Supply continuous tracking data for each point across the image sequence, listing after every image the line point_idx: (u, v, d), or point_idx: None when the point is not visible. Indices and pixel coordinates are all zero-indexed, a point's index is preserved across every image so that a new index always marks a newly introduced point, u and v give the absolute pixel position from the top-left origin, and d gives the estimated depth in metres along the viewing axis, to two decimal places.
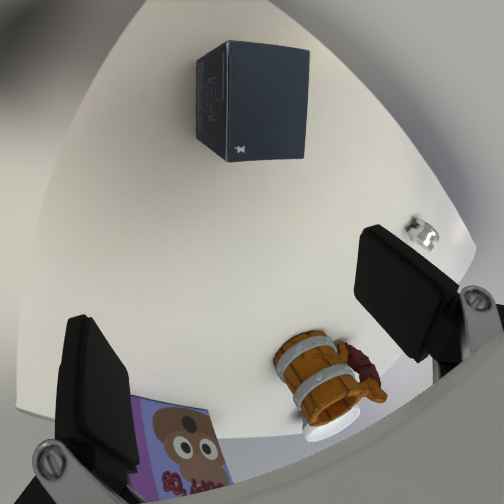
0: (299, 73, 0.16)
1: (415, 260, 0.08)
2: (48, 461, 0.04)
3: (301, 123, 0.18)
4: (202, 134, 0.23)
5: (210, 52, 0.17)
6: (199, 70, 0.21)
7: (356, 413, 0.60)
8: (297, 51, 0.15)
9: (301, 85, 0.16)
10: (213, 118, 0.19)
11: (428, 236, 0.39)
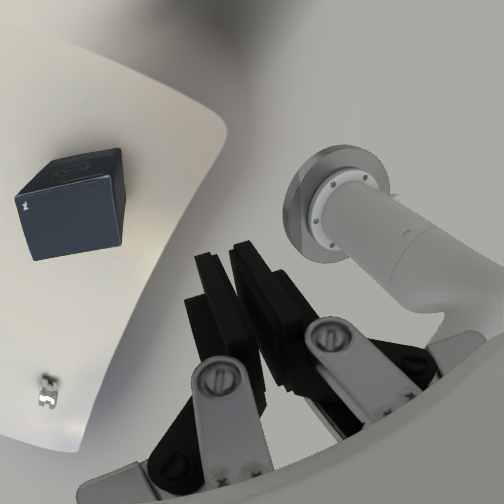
0: (97, 241, 0.19)
1: (263, 283, 0.08)
2: (211, 381, 0.06)
3: (58, 252, 0.19)
4: (49, 167, 0.21)
5: (114, 160, 0.21)
6: (106, 152, 0.24)
7: None
8: (115, 235, 0.20)
9: (87, 245, 0.19)
10: (53, 175, 0.19)
11: (48, 398, 0.34)
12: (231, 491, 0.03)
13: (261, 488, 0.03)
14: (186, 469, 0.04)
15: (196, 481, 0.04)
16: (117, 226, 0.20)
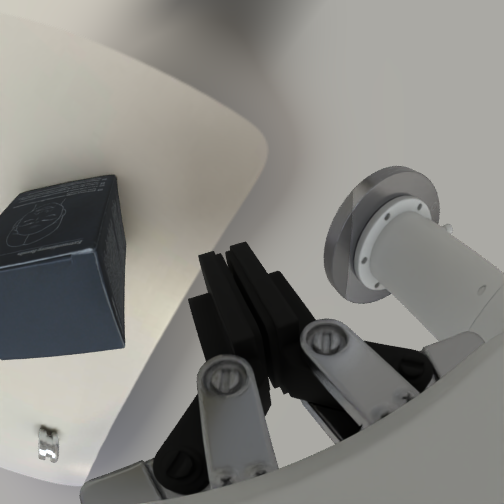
0: (86, 343, 0.12)
1: (259, 285, 0.08)
2: (217, 380, 0.06)
3: (31, 354, 0.11)
4: (12, 207, 0.13)
5: (103, 204, 0.13)
6: (94, 183, 0.16)
7: None
8: (115, 336, 0.12)
9: (73, 347, 0.11)
10: (11, 232, 0.11)
11: (48, 452, 0.26)
12: (231, 491, 0.03)
13: (261, 488, 0.03)
14: (192, 468, 0.04)
15: (202, 480, 0.04)
16: (116, 323, 0.12)
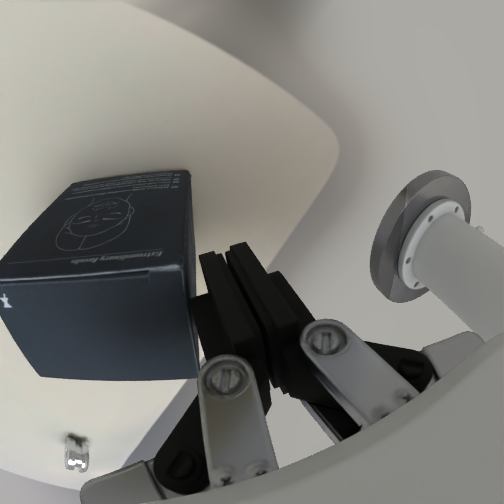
0: (153, 371, 0.10)
1: (259, 285, 0.08)
2: (217, 379, 0.06)
3: (79, 375, 0.10)
4: (64, 199, 0.13)
5: (182, 205, 0.12)
6: (166, 178, 0.15)
7: None
8: (190, 366, 0.10)
9: (134, 374, 0.10)
10: (62, 230, 0.10)
11: (77, 462, 0.26)
12: (231, 491, 0.03)
13: (261, 488, 0.03)
14: (193, 468, 0.04)
15: (203, 480, 0.04)
16: (194, 352, 0.10)
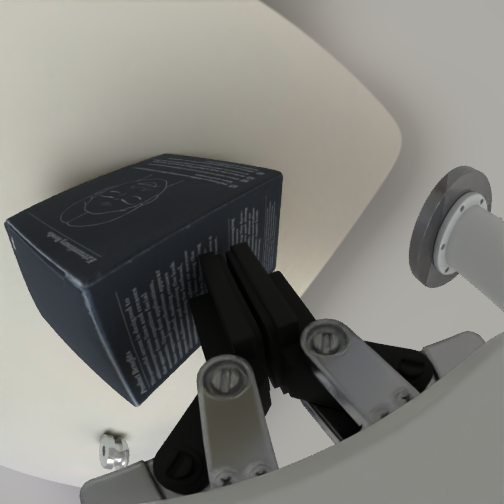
0: (98, 371, 0.09)
1: (259, 285, 0.08)
2: (217, 379, 0.06)
3: (59, 334, 0.11)
4: (134, 167, 0.14)
5: (200, 212, 0.09)
6: (241, 174, 0.13)
7: None
8: (123, 391, 0.08)
9: (87, 363, 0.09)
10: (86, 199, 0.10)
11: (116, 460, 0.27)
12: (231, 491, 0.03)
13: (261, 488, 0.03)
14: (192, 468, 0.04)
15: (202, 480, 0.04)
16: (125, 382, 0.08)
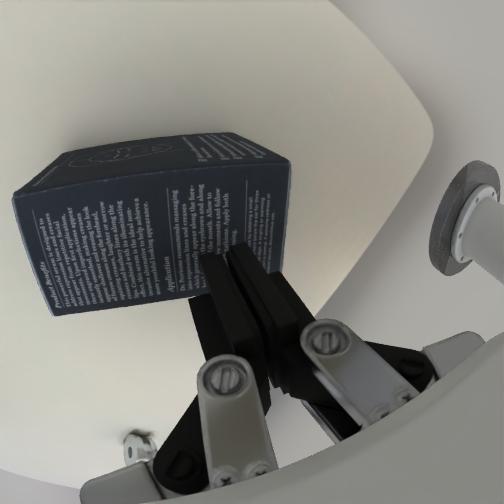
0: None
1: (259, 285, 0.08)
2: (217, 380, 0.06)
3: None
4: (182, 136, 0.15)
5: (128, 172, 0.09)
6: (237, 154, 0.11)
7: None
8: None
9: None
10: (108, 150, 0.13)
11: (144, 461, 0.27)
12: (231, 491, 0.03)
13: (261, 488, 0.03)
14: (192, 468, 0.04)
15: (202, 480, 0.04)
16: (41, 286, 0.09)
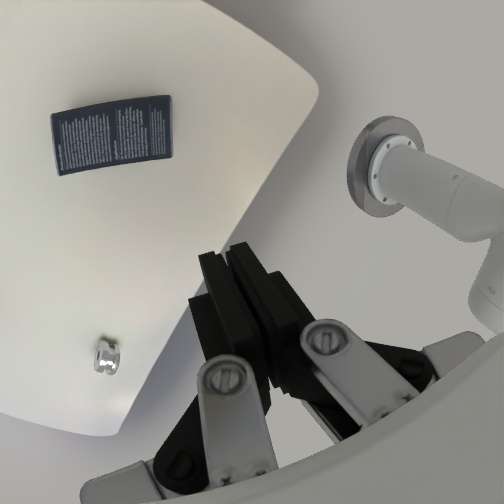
0: None
1: (259, 285, 0.08)
2: (217, 380, 0.06)
3: None
4: None
5: (101, 103, 0.19)
6: (149, 96, 0.21)
7: None
8: None
9: None
10: None
11: (108, 361, 0.37)
12: (231, 491, 0.03)
13: (261, 488, 0.03)
14: (192, 468, 0.04)
15: (202, 480, 0.04)
16: (56, 158, 0.20)
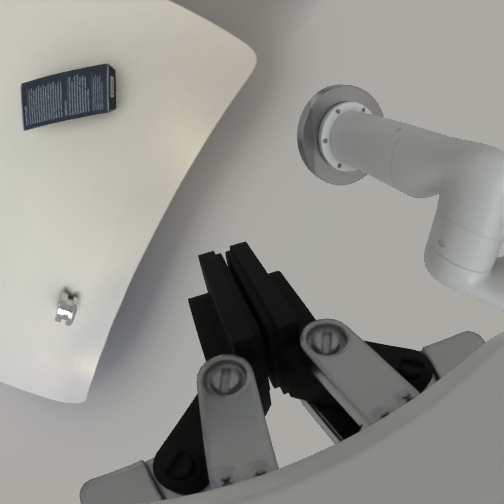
0: None
1: (259, 285, 0.08)
2: (217, 379, 0.06)
3: None
4: None
5: None
6: None
7: None
8: (23, 122, 0.22)
9: None
10: None
11: (66, 311, 0.39)
12: (231, 491, 0.03)
13: (261, 488, 0.03)
14: (192, 468, 0.04)
15: (202, 480, 0.04)
16: (23, 116, 0.21)
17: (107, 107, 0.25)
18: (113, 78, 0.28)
